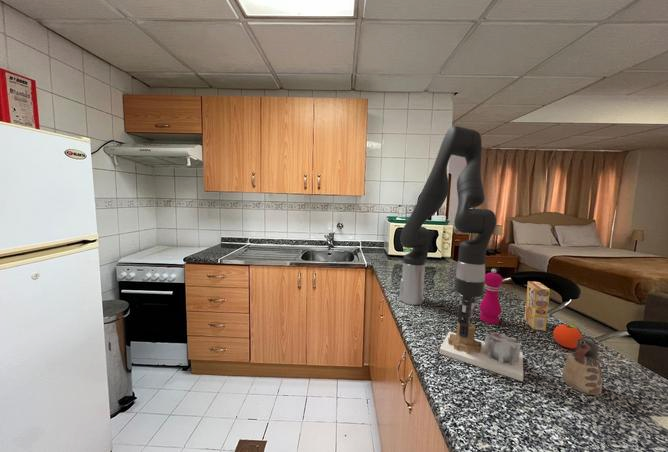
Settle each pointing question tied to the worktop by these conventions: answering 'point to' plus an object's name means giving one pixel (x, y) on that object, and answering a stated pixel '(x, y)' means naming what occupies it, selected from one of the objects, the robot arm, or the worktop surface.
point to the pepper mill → (491, 298)
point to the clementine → (567, 335)
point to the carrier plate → (483, 359)
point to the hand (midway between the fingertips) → (465, 331)
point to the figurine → (584, 368)
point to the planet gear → (465, 341)
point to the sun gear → (502, 348)
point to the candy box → (537, 305)
